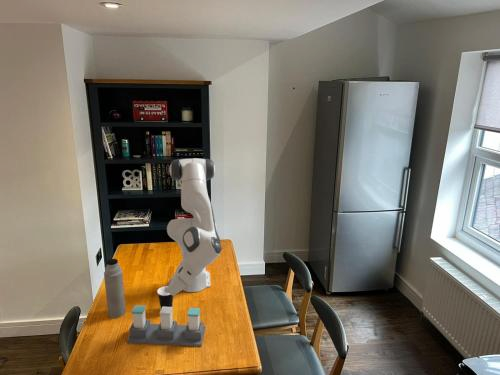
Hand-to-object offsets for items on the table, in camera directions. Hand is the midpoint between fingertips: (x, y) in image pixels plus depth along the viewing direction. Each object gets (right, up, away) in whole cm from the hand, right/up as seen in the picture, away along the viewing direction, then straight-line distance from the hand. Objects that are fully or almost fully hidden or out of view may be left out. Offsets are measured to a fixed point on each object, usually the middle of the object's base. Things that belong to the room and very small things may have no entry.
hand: (167, 287), depth 155 cm
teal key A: (-14, -19, +6) cm, 24 cm away
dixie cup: (-6, -18, +24) cm, 31 cm away
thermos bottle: (-29, -18, +21) cm, 40 cm away
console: (-2, -23, +7) cm, 24 cm away
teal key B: (+10, -20, +5) cm, 23 cm away
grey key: (-2, -19, +6) cm, 20 cm away
